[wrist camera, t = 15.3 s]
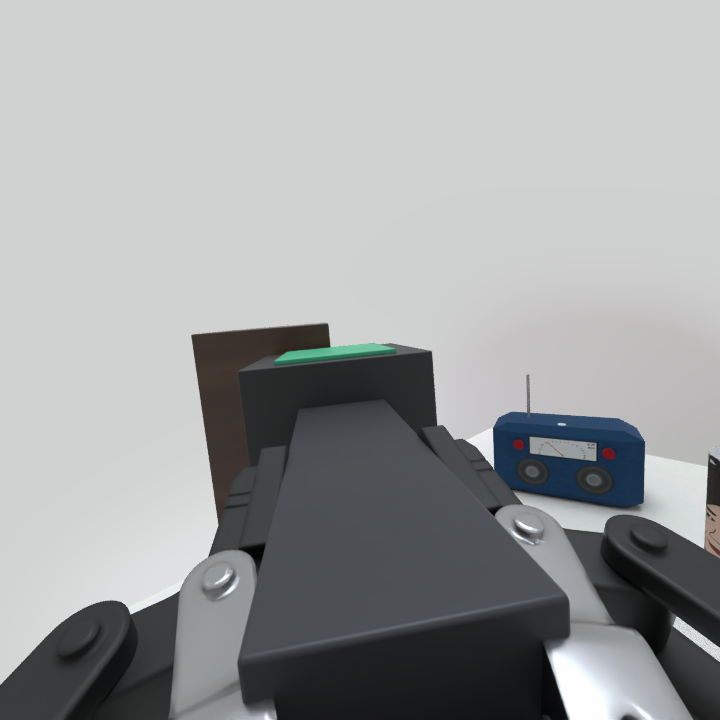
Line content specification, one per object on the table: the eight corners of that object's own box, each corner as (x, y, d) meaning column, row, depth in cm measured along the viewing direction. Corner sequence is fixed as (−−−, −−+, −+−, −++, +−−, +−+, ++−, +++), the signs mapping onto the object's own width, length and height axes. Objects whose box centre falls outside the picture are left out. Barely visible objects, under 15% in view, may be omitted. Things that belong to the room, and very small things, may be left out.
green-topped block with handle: (744, 763, 5) (754, 395, 4) (33, 957, 4) (-71, 506, 3) (397, 409, 25) (391, 340, 25) (275, 424, 24) (266, 352, 24)
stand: (389, 710, 28) (357, 320, 24) (213, 748, 26) (148, 338, 22) (364, 570, 44) (341, 321, 40) (252, 588, 42) (218, 331, 38)
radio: (493, 489, 60) (489, 379, 58) (500, 469, 68) (497, 370, 65) (645, 516, 50) (648, 382, 47) (634, 488, 57) (636, 371, 55)
